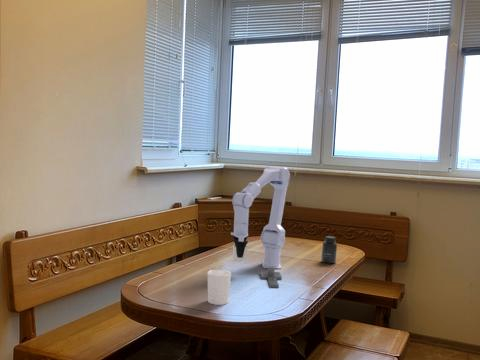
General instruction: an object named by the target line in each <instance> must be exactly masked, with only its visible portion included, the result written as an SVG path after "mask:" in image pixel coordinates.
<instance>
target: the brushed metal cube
mask: <svg viewBox="0 0 480 360" xmlns="http://www.w3.org/2000/svg"><path fill="white" fill-rule="evenodd" d="M247 246H248V245H246V247H245V250H244V254H243V258H238V257H237V251H236V246H235V243H233V248H232V249H233V250H232V261H233V262H247V255H248V254H247V252H248V247H247Z"/></svg>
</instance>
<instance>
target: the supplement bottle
mask: <svg viewBox="0 0 480 360" xmlns="http://www.w3.org/2000/svg"><path fill="white" fill-rule="evenodd" d="M321 247H322V248H321V259H320V260H321V263H323V262H324V264H327V263H334V264H336V262H337V255H338V253H337V250H338V244H337V242H336V236H331V235H328V236H325V237H324V242H322V245H321Z"/></svg>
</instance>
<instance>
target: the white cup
mask: <svg viewBox="0 0 480 360" xmlns="http://www.w3.org/2000/svg"><path fill="white" fill-rule="evenodd" d="M231 278H232V273H231V271H229V270H224V269H211V270H209V271H207V302H208V303H209V304H210V305H215V306H223V305H227V304H228V303H229V296H230V289H231Z"/></svg>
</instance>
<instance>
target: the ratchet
mask: <svg viewBox="0 0 480 360" xmlns="http://www.w3.org/2000/svg"><path fill="white" fill-rule="evenodd" d="M266 269H267V270H266V271H261V270H260V273H259V275H260V279H261V280H267V282H268V284H269V287H270V288H279V287H280V286H279V285H280V284H279V282H278V281H282V280H283V279H282V275H281V273H280V271H275V269H276V268H275V267H274V266H268V268H266Z"/></svg>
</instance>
